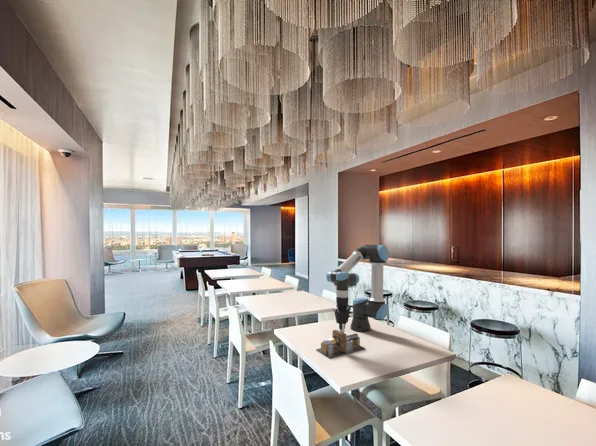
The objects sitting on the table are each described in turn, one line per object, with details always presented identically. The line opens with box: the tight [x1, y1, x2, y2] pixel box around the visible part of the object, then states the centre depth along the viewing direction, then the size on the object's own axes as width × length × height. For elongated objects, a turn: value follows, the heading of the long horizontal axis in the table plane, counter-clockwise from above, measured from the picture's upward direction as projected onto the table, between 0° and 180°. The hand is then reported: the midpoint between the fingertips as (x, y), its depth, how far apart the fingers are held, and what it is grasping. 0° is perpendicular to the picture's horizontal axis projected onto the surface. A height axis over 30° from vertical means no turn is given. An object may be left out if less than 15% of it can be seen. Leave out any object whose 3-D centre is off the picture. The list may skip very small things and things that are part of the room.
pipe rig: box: [315, 333, 366, 359], centre depth 183 cm, size 28×14×8 cm, turn 121°
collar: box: [331, 329, 347, 352], centre depth 182 cm, size 3×10×10 cm, turn 31°
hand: (342, 334), depth 184 cm, fingers closed
